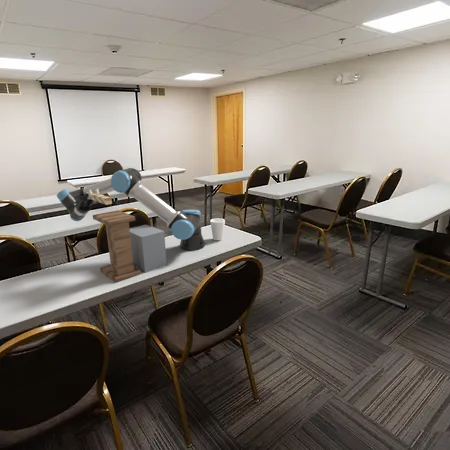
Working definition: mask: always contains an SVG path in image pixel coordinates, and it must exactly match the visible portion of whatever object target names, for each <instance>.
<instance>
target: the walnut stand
mask: <svg viewBox="0 0 450 450" xmlns="http://www.w3.org/2000/svg"><path fill="white" fill-rule="evenodd" d="M92 219H93V220H94V221H97V222H99V223H100V224H103V225H105V231H106V232H105V233H106V237H107V238H106V239H107V244H108V245H107V246H108V253H109V260H110V264H109V265H105V266H100V268H99V270H100V272H101V273H102V274H104V275H105V276H106V277H108V278H109V279H110V280H112V281H113V282H114V283H119V282H122V281H125V280H128V279H130V278H133V277H137V276H139V275H140V276H141V274H142V272H141V271H142V270H140V269H138V268H137V267H135V266H133V257H132V248H131V239H130V229H129V228H130V222H134V221H135V222H136V216H134V215H131V214H129V213H127V212H124V211H120V210H118V209H117V210H113V211H112V210H111V211H108V212H100V213H98V214H92Z"/></svg>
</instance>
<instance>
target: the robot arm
mask: <svg viewBox="0 0 450 450" xmlns="http://www.w3.org/2000/svg"><path fill="white" fill-rule="evenodd" d="M114 191H115V192H117V193H119V194H124V195H125V196H126V197H129V198H134V199H135V200H136V201H137V202H139V203H140V204H142V205H143V206H145V207H146V209H148V210H150V211H151V212H152V213H153V214H154V215H156V216H157V217H159V218H160V219H161V220H162V221H164V222H165V223H166V224H167V228H168V229H170V231H171V234H172V236H173V237H175V239H177V240H180V243H179V246H180V249H182V250H185V251H197V250H201V249H203V248H205V246H206V245H205V244H206V243H205V239H204V237H203V233H202V213H201V210H199V209H183V210H175V209H174V208H173V207H171V206H170V205H169V204H168V203H166V202H165V201H164V200H163V199H162V198H160V197H159V196H158V195H156V194H155V193H154V192H153V191H151V190H150V189H148V188H147V187H146V186H145V185H144V184H143V180H142V174H141V173H140V171H139V170H138V169H135V168H133V167H129V168H128V167H127V168H125V169H119V170H118V171H116V172H114V173H113V174H112V175H111V177H110V178H108V179H105V180H102V181H99V182H97V183H93V184H90V185H87V186H85V187H82V188H79V189H75V190H72V191H71V190H69V189H68V188H65V189H61V190H60V191H59V192H58V193H56V198H57V199H58V200H59V202H60V203H61V204H62V205H63V207H64V208H65V209H66V210H67V211H68V213H69V217H70V219H71V220H73V221H74V222H80V221H82V220H83V219H84V218H85V217H86V216H87V214H88V213H89V212H90V210H91V209H92V206H93V205H94V204H99V202H97V201H94V200H91V199H90V197H91V196H92V195H93V194H92V192H94V193H98V194H101V195H105V194H108V193H111V192H114ZM86 192H88V193H87V194H86Z"/></svg>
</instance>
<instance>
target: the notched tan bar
mask: <svg viewBox="0 0 450 450" xmlns="http://www.w3.org/2000/svg"><path fill="white" fill-rule="evenodd" d="M87 193H88V192H86V194H87ZM92 194H93V195H92V196H91V197H90V199H91V200H94V201H97V202H98V203H100V204H103V205H106V206H108V205H111V204H113V201H112V197H110V196H107V195H105V194H102V195H101V194H98V193H94V192H92Z"/></svg>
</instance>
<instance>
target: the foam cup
mask: <svg viewBox="0 0 450 450" xmlns="http://www.w3.org/2000/svg"><path fill="white" fill-rule="evenodd" d="M209 223H210V227H211V234H212V239H214V240H221V241H223V240H222V239H224V233H225V224H226V220H225V219H224V218H219V217H217V218H212V219H210V222H209ZM214 240H213V241H214Z"/></svg>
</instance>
